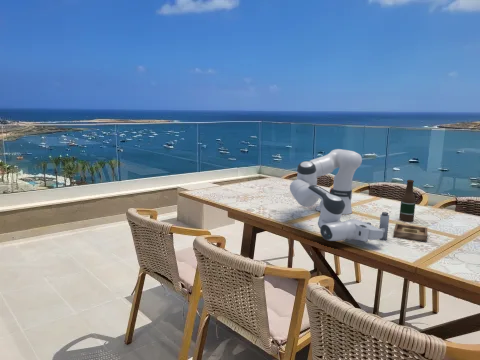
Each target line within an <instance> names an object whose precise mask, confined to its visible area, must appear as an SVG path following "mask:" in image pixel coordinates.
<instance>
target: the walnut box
mask: <svg viewBox="0 0 480 360" xmlns="http://www.w3.org/2000/svg"><path fill="white" fill-rule="evenodd" d="M393 238H396V239H397V238H398V239H403V240H410V241H417V242H421V243H422V242H423V243H427V242H428V227H424V226H423V227H422V226H416V225H409V224H402V223H395V225H394V229H393Z"/></svg>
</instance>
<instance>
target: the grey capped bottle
mask: <svg viewBox="0 0 480 360" xmlns="http://www.w3.org/2000/svg"><path fill="white" fill-rule="evenodd" d="M389 223H390V215H389V213H388V212H386V211H382V213H381V214H380V219H379V227H378V228H379V229H380V228H384V229H385V232H383V237H382V238H380V239H379V240H381V241H387V240H388V233H389Z"/></svg>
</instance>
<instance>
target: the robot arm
mask: <svg viewBox="0 0 480 360" xmlns="http://www.w3.org/2000/svg"><path fill="white" fill-rule="evenodd" d="M362 162H363V158H362V155H361V154H360V153H358V152H356V151H354V150H348V149H341V148H335V149H332V150H331V151H330V152H329V153H327V154H325V155H323V156H320V157H316V158H313V159H311V160H306V161H305V160H304V161H301V162H300V163H299V164H298V165H297V170H296V171H297V174H296V175H297V177H296V179H294V180H293V181H291V183H290V185H289V191H290V194H291V196H292V197H293V199H295V201H296V202H297V203H298V204H299V205H300V206H301V207H305V208H307V207H308V208H309V207H313V206H314V205H316V203H317V202H318V201H319V200H320V202H319V205H317V206H316V207H315V211H318V212H320V214H319V217H318V220H317V226H318V228H319V229H320V231H319V232H320V235H321V237H322V239H323V240H326V241H329V242H339V241H341V242H342V241H344V240H357V241H362V242H368V241H373V240H374V241H375V240H380V238H382V237H383V232H385V229H384V228H380V229H379V227H377V226H374V225H372V223H371V222H367V221H362V220H359V219H357V218H351V219H347V220H345V221H341V218H342V215H349V214H352V213H353V208H352V196H353V189H352V188H353V179H354V175H355V173H356V170H357V169H358V168H360V167H361V165H362ZM336 169H338V171H337V173H336V174H335V175H334V177H333V186H332V188H330V189H329V191H328V190H326V189H324V188H322V187H321V186H319V185H318V178H319V177H322V176H325V175H328V174H332V173H333V172H334V171H335V170H336Z"/></svg>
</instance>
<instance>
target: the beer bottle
mask: <svg viewBox="0 0 480 360" xmlns="http://www.w3.org/2000/svg"><path fill="white" fill-rule="evenodd" d="M414 183H415V182H414V180H412V179H407V180H406V188H405V193H404V194H403V195H402V197H401V200H400V207H399V219H398V220H399V221H401V222H404V223H405V222H406V223H412V222H413V221H414V218H415V210H416V196H415V194H414Z"/></svg>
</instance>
